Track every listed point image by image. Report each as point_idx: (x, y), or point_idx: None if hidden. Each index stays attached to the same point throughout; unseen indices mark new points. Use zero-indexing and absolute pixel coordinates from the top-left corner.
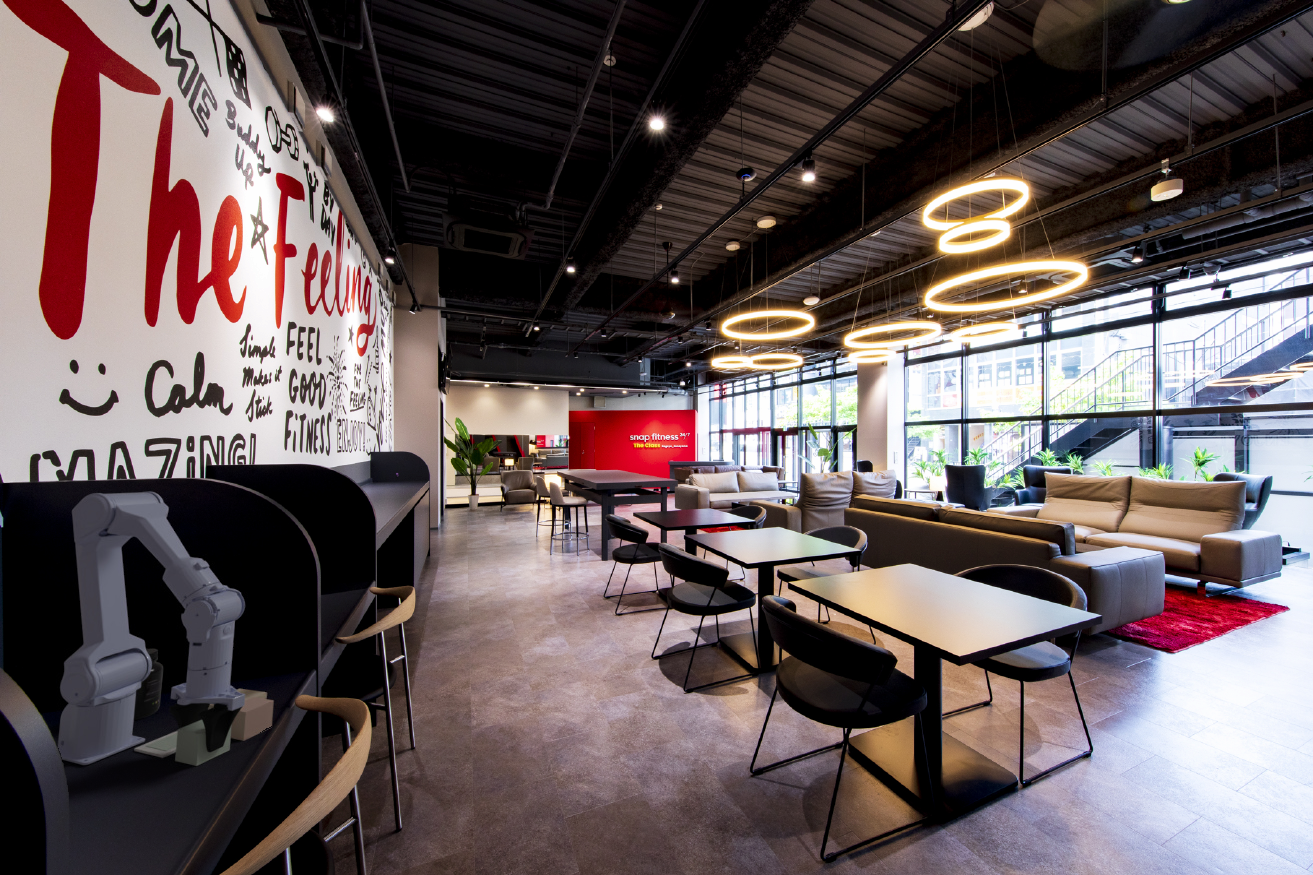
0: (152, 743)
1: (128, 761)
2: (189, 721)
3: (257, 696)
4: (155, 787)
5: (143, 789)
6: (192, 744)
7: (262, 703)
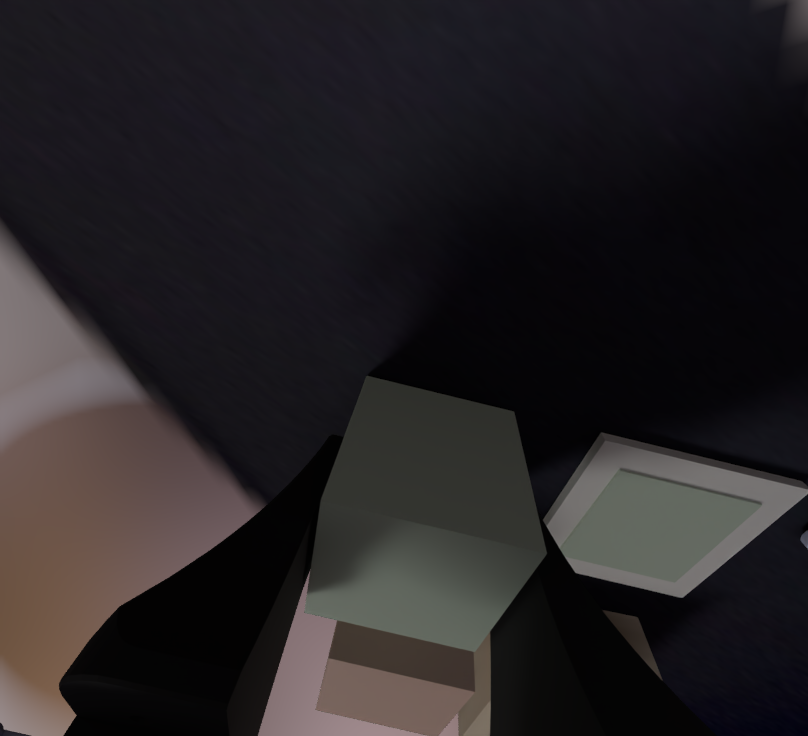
0: (738, 518)
1: (766, 404)
2: (526, 616)
3: (470, 727)
4: (387, 182)
5: (439, 154)
6: (392, 452)
7: (336, 699)
